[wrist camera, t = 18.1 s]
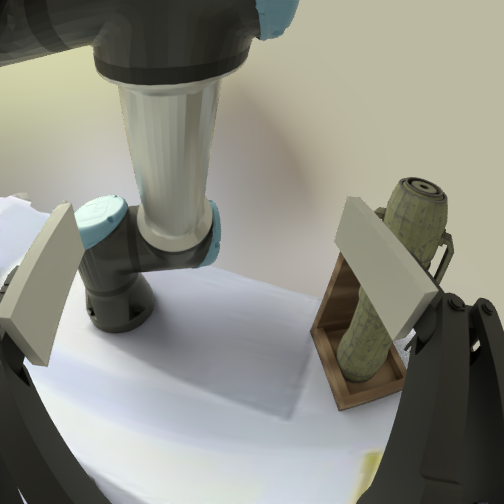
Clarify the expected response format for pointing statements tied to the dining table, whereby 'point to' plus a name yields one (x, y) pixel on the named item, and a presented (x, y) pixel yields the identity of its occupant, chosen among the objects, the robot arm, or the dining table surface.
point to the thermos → (415, 240)
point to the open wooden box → (329, 337)
